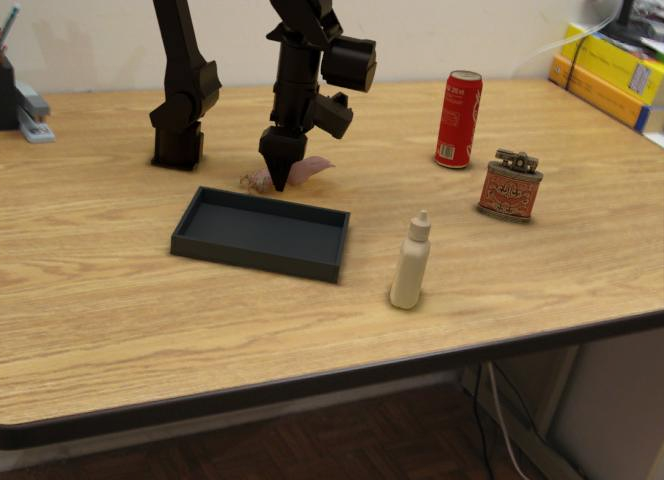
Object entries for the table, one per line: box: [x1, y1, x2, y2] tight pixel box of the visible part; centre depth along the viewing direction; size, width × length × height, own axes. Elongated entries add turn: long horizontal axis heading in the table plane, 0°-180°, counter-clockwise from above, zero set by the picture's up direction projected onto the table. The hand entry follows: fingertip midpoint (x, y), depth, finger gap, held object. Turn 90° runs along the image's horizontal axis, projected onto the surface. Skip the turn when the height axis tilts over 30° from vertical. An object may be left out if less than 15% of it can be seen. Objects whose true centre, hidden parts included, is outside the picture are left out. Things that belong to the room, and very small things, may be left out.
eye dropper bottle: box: [389, 209, 432, 310], centre depth 104 cm, size 4×6×12 cm
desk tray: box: [169, 185, 351, 285], centre depth 114 cm, size 21×15×3 cm
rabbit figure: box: [239, 155, 336, 195], centre depth 128 cm, size 6×6×15 cm
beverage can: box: [434, 69, 484, 169], centre depth 141 cm, size 6×6×15 cm
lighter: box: [476, 147, 544, 224], centre depth 128 cm, size 8×3×10 cm, turn 71°
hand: (283, 179), depth 129 cm, fingers open, 8 cm apart
